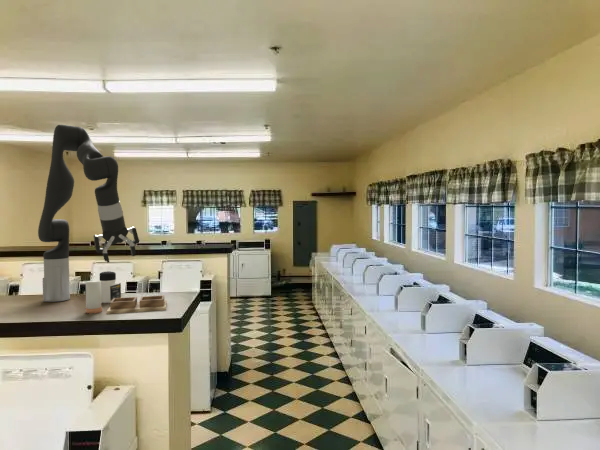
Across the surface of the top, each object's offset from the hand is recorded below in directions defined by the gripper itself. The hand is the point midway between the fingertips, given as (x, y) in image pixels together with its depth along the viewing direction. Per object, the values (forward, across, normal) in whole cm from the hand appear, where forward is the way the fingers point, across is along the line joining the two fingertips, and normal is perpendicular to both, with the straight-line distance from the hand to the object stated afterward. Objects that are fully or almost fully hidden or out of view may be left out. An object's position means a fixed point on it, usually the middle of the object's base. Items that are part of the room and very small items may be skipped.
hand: (120, 258), depth 162 cm
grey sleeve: (+19, +12, -3) cm, 23 cm away
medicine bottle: (+26, +6, -20) cm, 33 cm away
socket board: (+21, -2, 0) cm, 21 cm away
